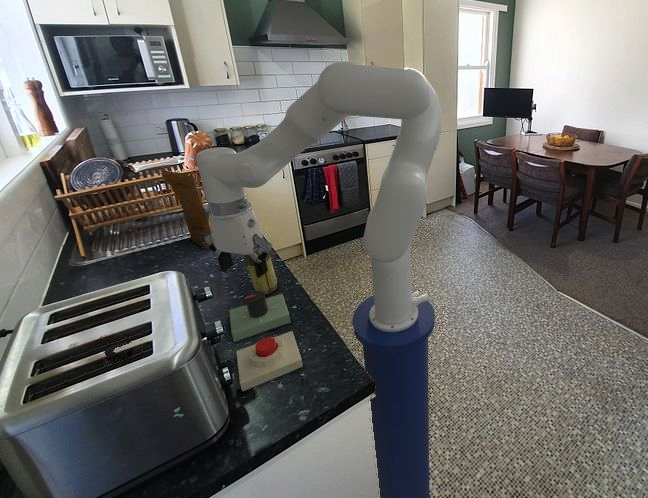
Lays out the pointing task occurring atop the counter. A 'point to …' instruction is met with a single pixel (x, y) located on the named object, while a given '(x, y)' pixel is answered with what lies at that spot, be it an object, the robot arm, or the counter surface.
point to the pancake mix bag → (190, 205)
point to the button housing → (268, 362)
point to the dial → (256, 304)
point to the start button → (266, 347)
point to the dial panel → (258, 319)
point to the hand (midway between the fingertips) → (244, 271)
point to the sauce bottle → (266, 281)
